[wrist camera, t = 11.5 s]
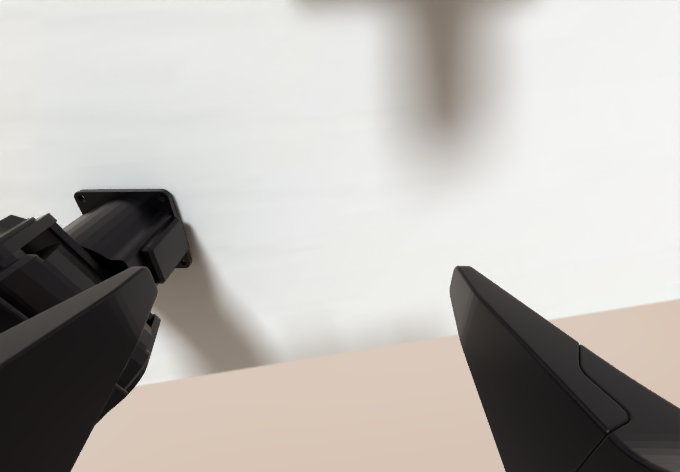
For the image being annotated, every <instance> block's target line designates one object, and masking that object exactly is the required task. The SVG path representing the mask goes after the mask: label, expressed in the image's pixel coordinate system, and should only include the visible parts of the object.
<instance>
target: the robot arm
mask: <svg viewBox="0 0 680 472" xmlns="http://www.w3.org/2000/svg"><path fill="white" fill-rule="evenodd" d="M160 195H163V196H164V197H165V199H163V198H162V197H161V196H160ZM82 196H84V197H85V199H84V198H83V197H82ZM74 198H75V200H76V202H77V204H78V206H79V208H80V210H81V212H82V214H83V215H82V216H80V217H79V218H78V219H76V220H75V221H73V222H72V223H70V224H69V225H68V226H66V227H65V228H63V229H62V228H61V227H60V226H59V225H58V224H57V223H56V222H57V220H56V219H55V218H54V217H53V216H52V215H51V214H50V213H48V214H46V215H44V216H42V217H40V218H38V219H35V218H34V217H32V218H30V219H29V218H28V219H24V218H21V217H17V216H14V215H10V216H8V217H6V218H4V219H2V220H0V472H70V471H71V469H72V468H73V466H74V464H75V462H76V460H77V458H78V456H79V454H80V452H81V450H82V448H83V447H84V445H85V443H86V441H87V439H88V437H89V435H90V433H91V431H92V429H93V428H94V426H95V425H96V423H98V422H99V421H100V419H102V418H103V416H104V415H105V414H106V413H107V412H109V411H110V410H111V409H112V408H113V407H115V406H116V405H117V404H118V403H119V402H120V401H122V400H123V399H124V398H125V397H126V396H127V395H128V394H129V393H130V391H131V390H132V389H133V388H134V387H135V386H136V384H137V383H138V382H139V380H140V379H141V377H142V376H143V374H144V372H145V370H146V368H147V365H148V362H149V359H150V355H151V352H152V348H153V345H154V342H155V338H156V335H157V332H158V328H159V325H160V322H161V320H160V319H159V318H158V317H157V316H156V315H155V314H152V313H151V312H150V311H151V309H152V306H153V304H154V301H155V299H156V296H157V287H156V286H157V285H158V284H163V283H164V282H165V281H166V279H167V278H168V277H169V275H170V274H171V273H172V271H173V270H174V268H187V267H189V266H190V264H191V263H192V258H191V255H190V252H189V244H188V241H187V238H186V235H185V232H184V229H183V226H182V222H181V220H180V219H179V218H178V215H177V212H176V209H175V206H174V203H173V200H172V196H171V194H170V193H169V192H168V191H167V190H165V189H98V190H80V191H78V192H76V193H75V194H74ZM183 260H185V261H186V262H184V261H183ZM450 298H451V302H452V307H453V311H454V316H455V320H456V325H457V329H458V334H459V338H460V341H461V345H462V348H463V351H464V354H465V357H466V360H467V363H468V366H469V368H470V371H471V374H472V377H473V380H474V383H475V385H476V388H477V391H478V394H479V397H480V400H481V402H482V405H483V408H484V411H485V414H486V417H487V419H488V422H489V425H490V428H491V431H492V434H493V437H494V440H495V442H496V445H497V448H498V451H499V454H500V457H501V460H502V462H503V465H504V468H505V471H506V472H680V408H678V407H676V406H675V405H673V404H672V403H670V402H668V401H667V400H665V399H663V398H662V397H660V396H659V395H657V394H656V393H654V392H652V391H651V390H649V389H647V388H646V387H644V386H643V385H641V384H639V383H638V382H636V381H635V380H633V379H632V378H630V377H629V376H627V375H626V374H624V373H622V372H621V371H619V370H618V369H616V368H615V367H613V366H612V365H610V364H609V363H608V362H606V361H605V360H603V359H602V358H600V357H599V356H597V355H596V354H594V353H593V352H592V351H590V350H589V349H587V348H586V347H584V346H583V345H579V343H578V342H577V341H576V340H574V339H573V338H571V337H570V336H569V335H567V334H566V333H564V332H563V331H562V330H560V329H559V328H557V327H556V326H554V325H553V324H552V323H550V322H549V321H547V320H546V319H545V318H543V317H542V316H540V315H539V314H537V313H536V312H535V311H533V310H532V309H530V308H529V307H527V306H526V305H525V304H523V303H522V302H520V301H519V300H518V299H516V298H515V297H513V296H512V295H510V294H509V293H508V292H506V291H505V290H503V289H502V288H500V287H499V286H498V285H496V284H495V283H493V282H492V281H491V280H489V279H488V278H486V277H485V276H483V275H482V274H481V273H479V272H478V271H476V270H475V269H474V268H472V267H470V266H457V267H455V269H454V271H453V276H452V280H451V285H450Z"/></svg>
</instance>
